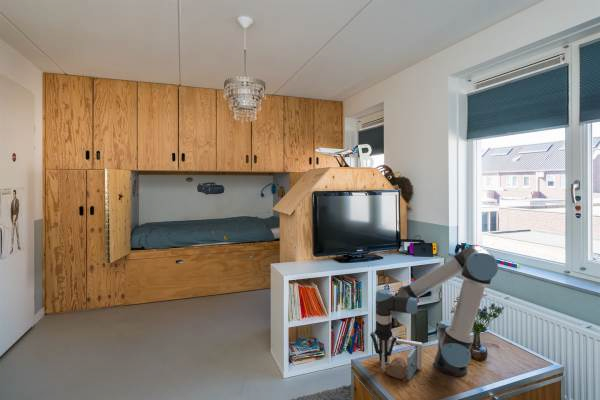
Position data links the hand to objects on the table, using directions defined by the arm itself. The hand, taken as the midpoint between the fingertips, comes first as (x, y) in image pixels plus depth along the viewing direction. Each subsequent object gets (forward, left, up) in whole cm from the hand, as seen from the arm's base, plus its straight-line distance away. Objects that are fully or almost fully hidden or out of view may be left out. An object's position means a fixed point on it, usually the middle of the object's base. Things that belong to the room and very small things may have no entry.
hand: (383, 367), depth 155 cm
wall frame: (-7, -8, -2) cm, 11 cm away
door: (-14, -2, -1) cm, 15 cm away
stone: (-6, +1, -2) cm, 6 cm away
